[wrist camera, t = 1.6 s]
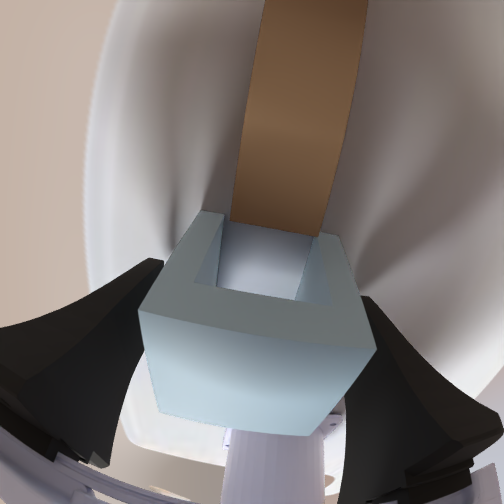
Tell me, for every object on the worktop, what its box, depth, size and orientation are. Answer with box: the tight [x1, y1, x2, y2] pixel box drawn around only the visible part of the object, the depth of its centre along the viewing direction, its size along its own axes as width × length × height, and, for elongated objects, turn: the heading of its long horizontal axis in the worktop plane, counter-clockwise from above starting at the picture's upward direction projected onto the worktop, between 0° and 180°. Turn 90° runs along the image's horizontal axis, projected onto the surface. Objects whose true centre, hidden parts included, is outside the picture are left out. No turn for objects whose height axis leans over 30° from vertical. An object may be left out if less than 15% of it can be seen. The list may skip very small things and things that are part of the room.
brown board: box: [230, 0, 368, 237], centre depth 5 cm, size 12×2×3 cm, turn 171°
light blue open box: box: [138, 210, 377, 436], centre depth 9 cm, size 5×5×6 cm
